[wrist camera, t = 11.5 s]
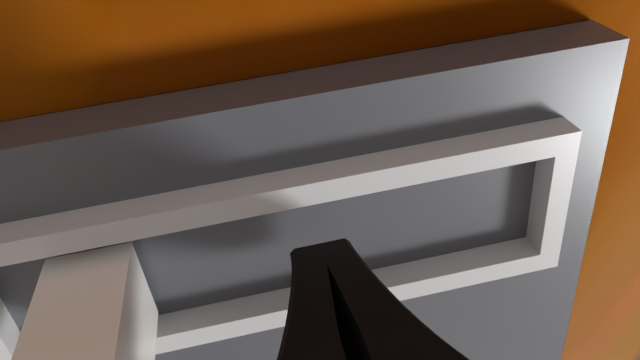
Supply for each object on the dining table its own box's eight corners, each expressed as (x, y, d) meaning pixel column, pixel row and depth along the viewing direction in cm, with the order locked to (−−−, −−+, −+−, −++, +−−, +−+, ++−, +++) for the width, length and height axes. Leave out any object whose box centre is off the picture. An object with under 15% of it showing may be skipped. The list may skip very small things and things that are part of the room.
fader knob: (159, 313, 15) (148, 466, 11) (81, 329, 14) (44, 491, 11) (131, 240, 13) (108, 389, 10) (44, 257, 13) (-11, 416, 9)
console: (527, 396, 23) (557, 447, 21) (-18, 528, 21) (-39, 599, 19) (592, 19, 14) (652, 49, 12) (-339, 180, 12) (-438, 246, 10)
